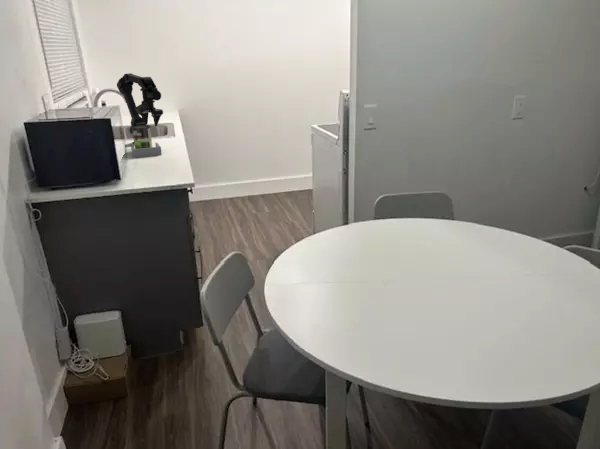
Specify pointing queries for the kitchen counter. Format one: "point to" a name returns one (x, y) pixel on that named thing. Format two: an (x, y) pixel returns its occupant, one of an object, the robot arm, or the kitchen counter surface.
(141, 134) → the coffee can
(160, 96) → the robot arm
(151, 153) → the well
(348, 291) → the kitchen counter surface
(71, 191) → the kitchen counter surface
